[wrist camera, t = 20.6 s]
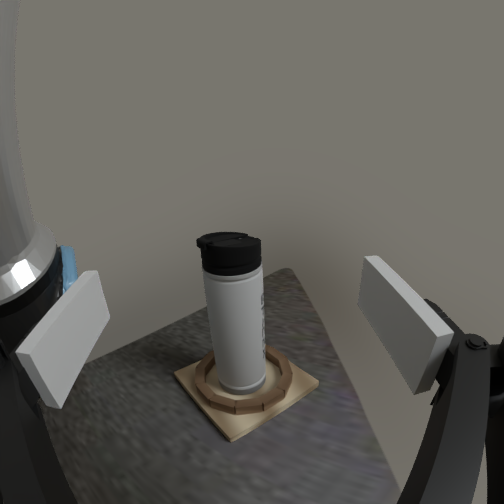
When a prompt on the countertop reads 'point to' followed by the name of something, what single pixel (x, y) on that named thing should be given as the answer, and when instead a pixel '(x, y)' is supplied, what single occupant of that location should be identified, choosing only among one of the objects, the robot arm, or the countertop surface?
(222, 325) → the travel mug
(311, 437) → the countertop surface
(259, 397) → the mug stand
